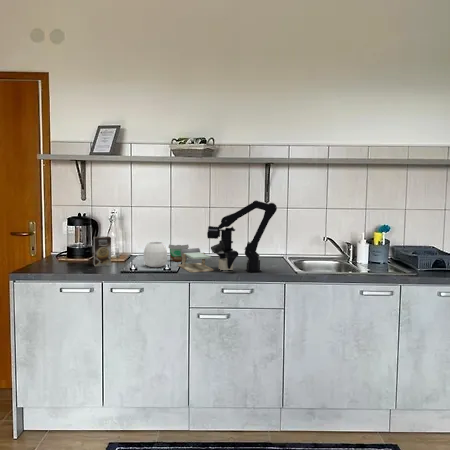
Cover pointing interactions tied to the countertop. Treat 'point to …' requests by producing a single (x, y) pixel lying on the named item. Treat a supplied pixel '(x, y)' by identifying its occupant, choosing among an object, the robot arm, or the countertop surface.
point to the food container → (177, 252)
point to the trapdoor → (194, 253)
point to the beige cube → (224, 264)
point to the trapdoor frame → (194, 266)
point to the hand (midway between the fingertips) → (225, 267)
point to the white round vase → (155, 254)
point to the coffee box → (102, 251)
